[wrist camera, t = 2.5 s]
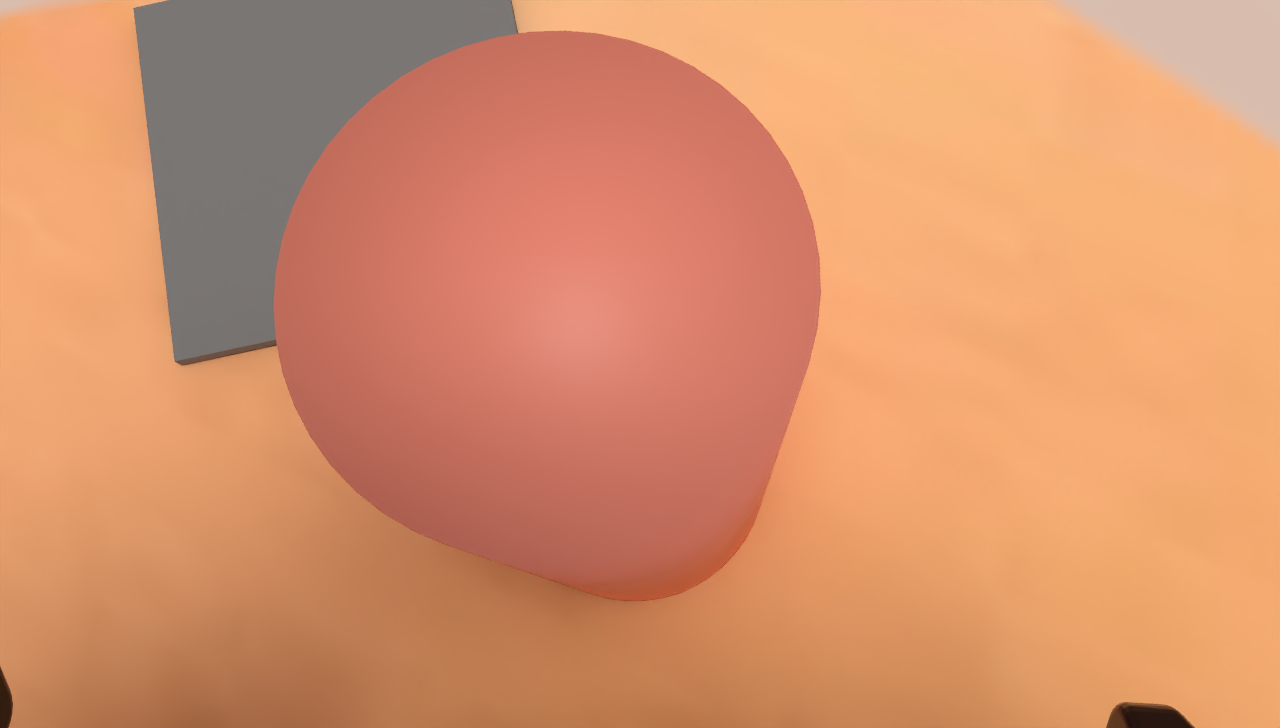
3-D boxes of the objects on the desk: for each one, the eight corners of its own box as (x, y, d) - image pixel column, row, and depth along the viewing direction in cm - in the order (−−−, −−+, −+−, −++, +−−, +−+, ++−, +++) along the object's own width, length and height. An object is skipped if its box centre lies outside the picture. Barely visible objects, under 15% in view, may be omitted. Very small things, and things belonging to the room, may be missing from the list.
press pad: (567, 281, 21) (565, 277, 21) (182, 365, 21) (175, 361, 21) (498, -63, 23) (496, -73, 22) (141, 16, 23) (133, 8, 22)
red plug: (791, 570, 20) (881, 493, 9) (532, 626, 20) (313, 614, 9) (733, 319, 21) (751, -19, 10) (486, 372, 21) (242, 92, 10)
